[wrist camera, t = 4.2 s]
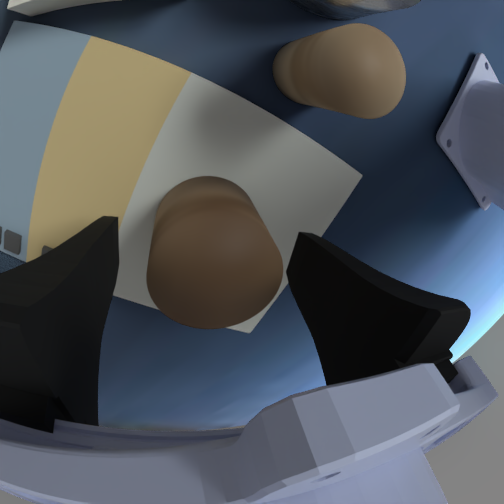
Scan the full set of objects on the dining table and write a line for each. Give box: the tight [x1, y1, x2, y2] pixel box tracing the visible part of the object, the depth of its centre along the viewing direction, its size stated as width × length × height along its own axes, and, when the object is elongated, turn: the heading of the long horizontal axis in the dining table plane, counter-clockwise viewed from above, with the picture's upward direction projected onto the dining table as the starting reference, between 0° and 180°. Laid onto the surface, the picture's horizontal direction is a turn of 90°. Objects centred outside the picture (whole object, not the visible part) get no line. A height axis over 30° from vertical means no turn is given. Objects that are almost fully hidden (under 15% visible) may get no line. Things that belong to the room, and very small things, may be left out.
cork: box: [273, 23, 406, 119], centre depth 8 cm, size 3×3×4 cm
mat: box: [0, 21, 363, 333], centre depth 11 cm, size 18×11×1 cm, turn 60°
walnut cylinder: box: [146, 176, 283, 329], centre depth 11 cm, size 4×4×4 cm
